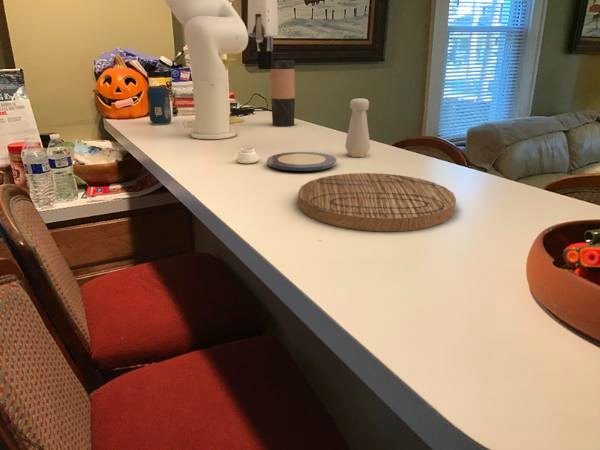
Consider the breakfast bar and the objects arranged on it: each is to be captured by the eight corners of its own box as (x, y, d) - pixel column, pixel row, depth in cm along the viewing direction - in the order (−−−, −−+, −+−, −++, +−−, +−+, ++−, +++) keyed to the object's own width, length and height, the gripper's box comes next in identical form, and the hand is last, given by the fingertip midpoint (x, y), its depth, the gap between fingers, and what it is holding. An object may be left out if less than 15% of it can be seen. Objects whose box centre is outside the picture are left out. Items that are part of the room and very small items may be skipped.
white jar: (262, 160, 106) (242, 158, 108) (262, 147, 105) (241, 145, 107) (253, 165, 102) (232, 163, 103) (252, 151, 101) (231, 150, 102)
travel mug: (294, 126, 151) (294, 60, 144) (271, 126, 151) (269, 60, 144) (295, 123, 158) (294, 60, 151) (272, 123, 158) (271, 60, 151)
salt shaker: (368, 158, 108) (371, 100, 103) (343, 157, 109) (345, 99, 104) (370, 153, 113) (373, 97, 108) (346, 152, 114) (348, 97, 110)
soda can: (152, 122, 161) (148, 85, 156) (173, 121, 161) (169, 85, 157) (148, 125, 154) (144, 87, 150) (170, 124, 155) (166, 87, 151)
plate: (258, 171, 97) (258, 165, 96) (276, 156, 110) (276, 150, 110) (331, 175, 94) (331, 168, 93) (340, 159, 107) (340, 153, 107)
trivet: (300, 182, 89) (300, 172, 88) (433, 183, 88) (434, 173, 87) (295, 230, 65) (295, 217, 65) (476, 232, 65) (478, 219, 64)
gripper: (256, -13, 113) (259, 67, 120) (236, -21, 99) (240, 70, 106) (287, -14, 112) (288, 68, 118) (271, -22, 98) (273, 70, 105)
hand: (265, 68), depth 112 cm, fingers closed
